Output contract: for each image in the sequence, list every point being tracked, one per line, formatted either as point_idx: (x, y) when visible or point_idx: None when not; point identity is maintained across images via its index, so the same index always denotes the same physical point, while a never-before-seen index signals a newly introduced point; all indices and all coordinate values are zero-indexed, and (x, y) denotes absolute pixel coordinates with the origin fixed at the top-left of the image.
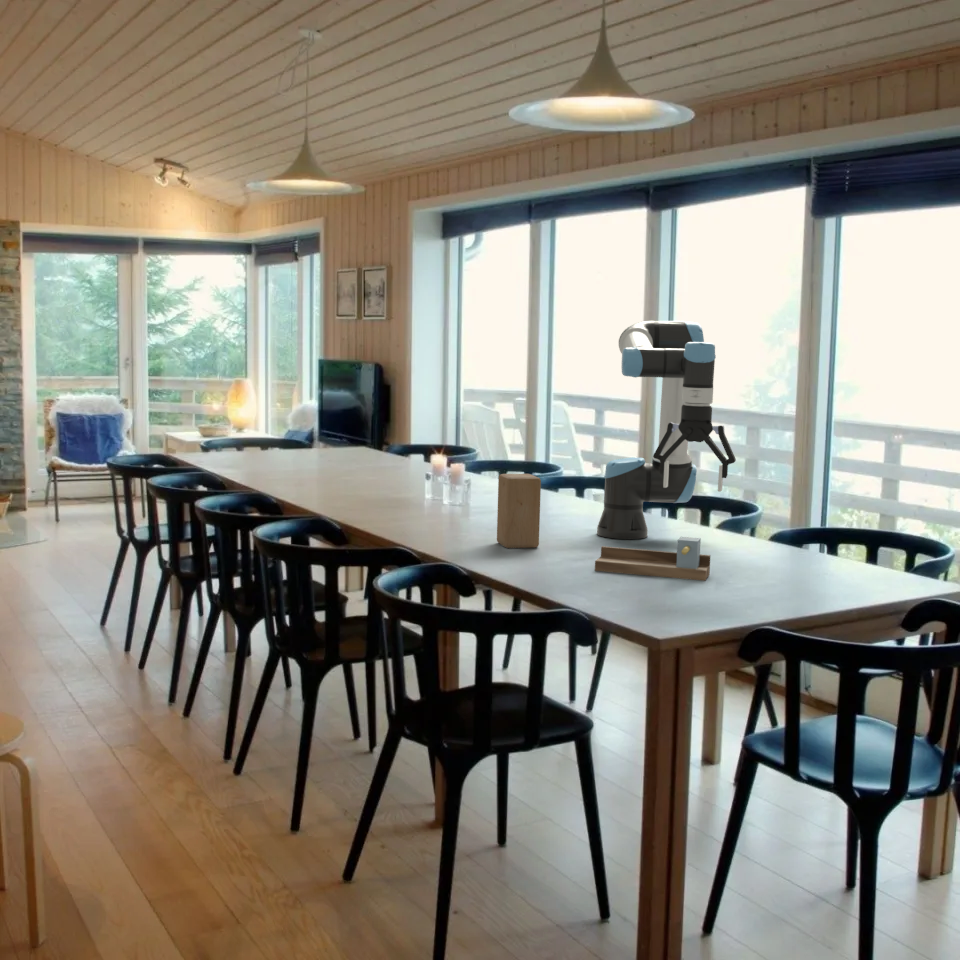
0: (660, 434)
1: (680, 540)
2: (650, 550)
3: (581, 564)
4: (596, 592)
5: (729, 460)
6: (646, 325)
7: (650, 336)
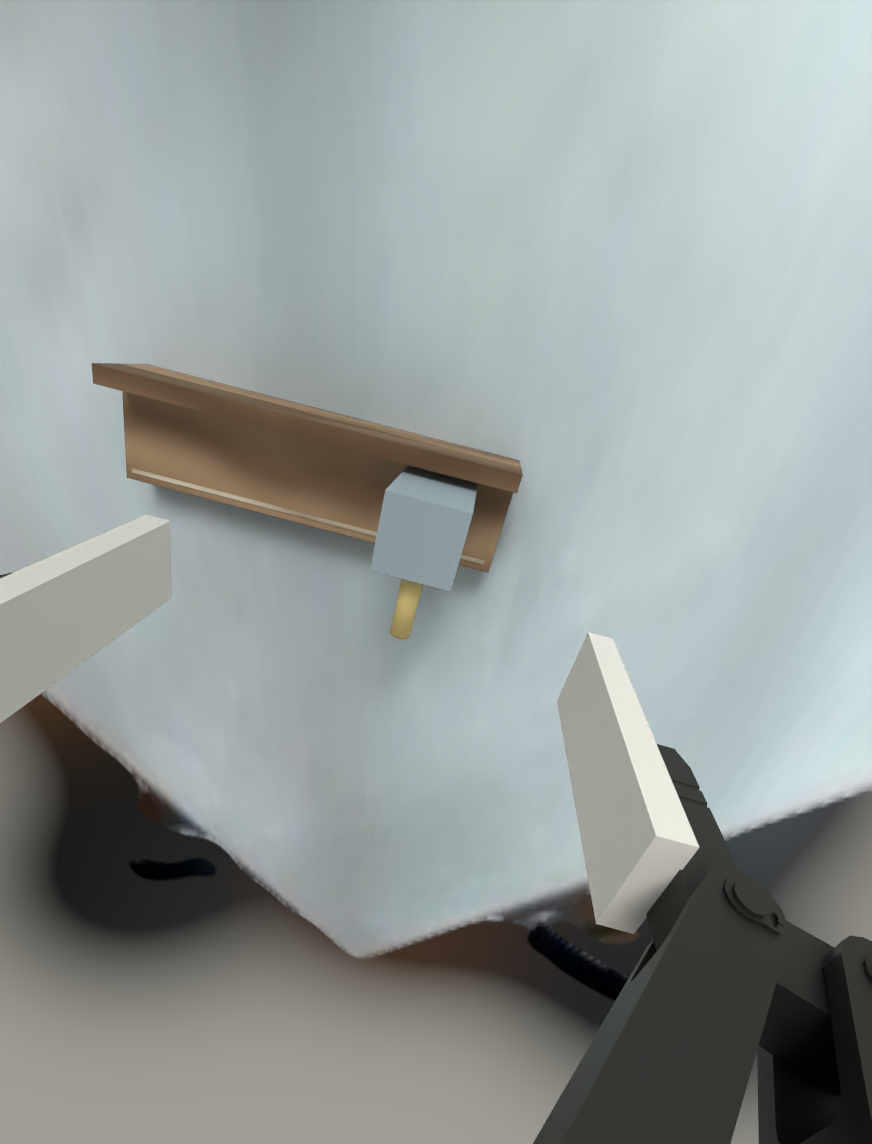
0: None
1: (381, 572)
2: (285, 420)
3: (83, 369)
4: (212, 717)
5: (758, 1048)
6: None
7: None
